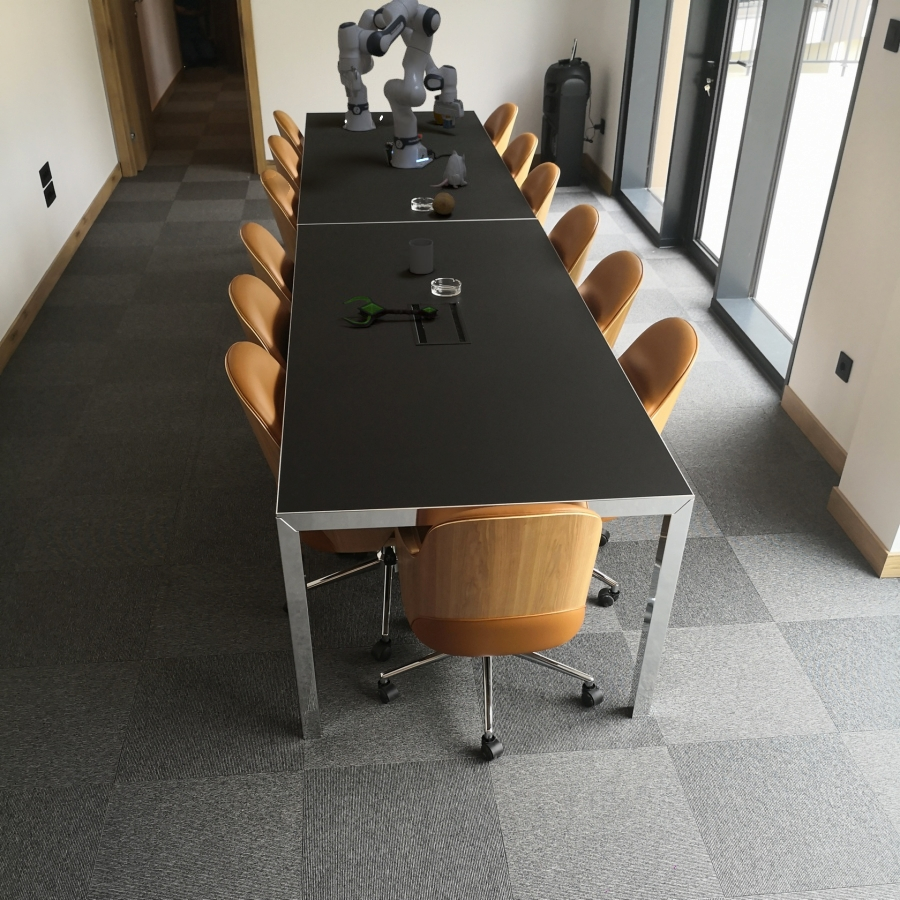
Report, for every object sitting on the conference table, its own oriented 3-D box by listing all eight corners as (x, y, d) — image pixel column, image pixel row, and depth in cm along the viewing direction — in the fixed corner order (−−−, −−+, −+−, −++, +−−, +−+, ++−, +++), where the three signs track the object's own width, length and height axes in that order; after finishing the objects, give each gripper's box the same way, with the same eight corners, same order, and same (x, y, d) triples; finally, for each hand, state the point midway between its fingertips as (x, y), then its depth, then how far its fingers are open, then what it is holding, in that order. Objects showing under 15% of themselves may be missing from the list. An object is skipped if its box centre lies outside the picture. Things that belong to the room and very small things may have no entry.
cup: (409, 265, 311) (408, 238, 306) (432, 265, 312) (431, 238, 307) (410, 274, 304) (409, 246, 299) (433, 273, 305) (433, 246, 299)
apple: (451, 126, 500) (451, 102, 493) (433, 126, 500) (432, 102, 493) (452, 121, 509) (452, 98, 502) (433, 121, 509) (433, 98, 502)
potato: (453, 208, 369) (453, 189, 365) (456, 218, 357) (456, 199, 353) (431, 208, 368) (430, 189, 364) (432, 218, 356) (432, 199, 352)
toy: (472, 184, 399) (472, 151, 391) (436, 195, 384) (436, 161, 376) (457, 180, 404) (458, 147, 396) (422, 191, 389) (421, 157, 381)
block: (448, 129, 478) (448, 120, 476) (443, 127, 481) (443, 119, 479) (454, 127, 481) (454, 119, 479) (449, 126, 484) (449, 117, 481)
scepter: (438, 291, 273) (342, 288, 271) (439, 321, 266) (340, 319, 264) (437, 304, 278) (343, 302, 276) (438, 334, 271) (341, 332, 269)
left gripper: (466, 99, 468) (466, 126, 476) (440, 94, 481) (440, 120, 488) (458, 101, 465) (458, 127, 472) (432, 95, 477) (432, 122, 484)
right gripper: (363, 68, 363) (365, 103, 370) (350, 60, 379) (352, 94, 386) (348, 68, 361) (350, 104, 368) (336, 61, 377) (338, 95, 385)
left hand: (449, 124), depth 480 cm, fingers closed on block, 4 cm apart
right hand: (351, 99), depth 378 cm, fingers open, 8 cm apart
